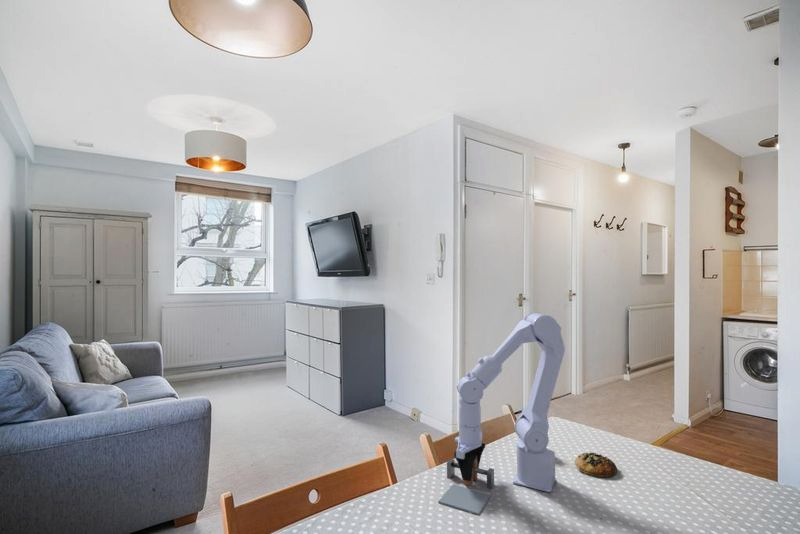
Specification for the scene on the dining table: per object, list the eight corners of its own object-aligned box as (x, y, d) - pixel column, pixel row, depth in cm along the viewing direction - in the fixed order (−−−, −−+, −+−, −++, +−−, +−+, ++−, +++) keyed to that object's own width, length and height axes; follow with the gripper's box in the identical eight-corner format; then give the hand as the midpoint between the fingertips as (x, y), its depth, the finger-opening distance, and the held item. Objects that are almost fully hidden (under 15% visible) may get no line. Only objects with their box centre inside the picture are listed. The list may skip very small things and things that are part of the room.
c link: (477, 478, 109) (477, 455, 109) (471, 486, 105) (471, 462, 105) (468, 476, 110) (468, 453, 110) (462, 483, 106) (462, 460, 106)
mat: (490, 496, 100) (490, 494, 100) (478, 515, 92) (478, 513, 92) (453, 485, 105) (453, 484, 105) (438, 502, 97) (438, 501, 97)
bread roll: (627, 475, 110) (624, 456, 110) (592, 486, 107) (589, 467, 107) (598, 459, 121) (595, 442, 121) (566, 468, 118) (563, 451, 118)
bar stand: (494, 484, 105) (494, 469, 106) (491, 489, 103) (491, 473, 103) (450, 473, 112) (450, 458, 112) (447, 477, 109) (446, 462, 110)
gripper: (465, 412, 116) (465, 460, 116) (444, 430, 103) (445, 483, 103) (489, 417, 112) (489, 466, 112) (471, 435, 100) (471, 491, 100)
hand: (470, 475), depth 107 cm, fingers closed on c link, 5 cm apart
